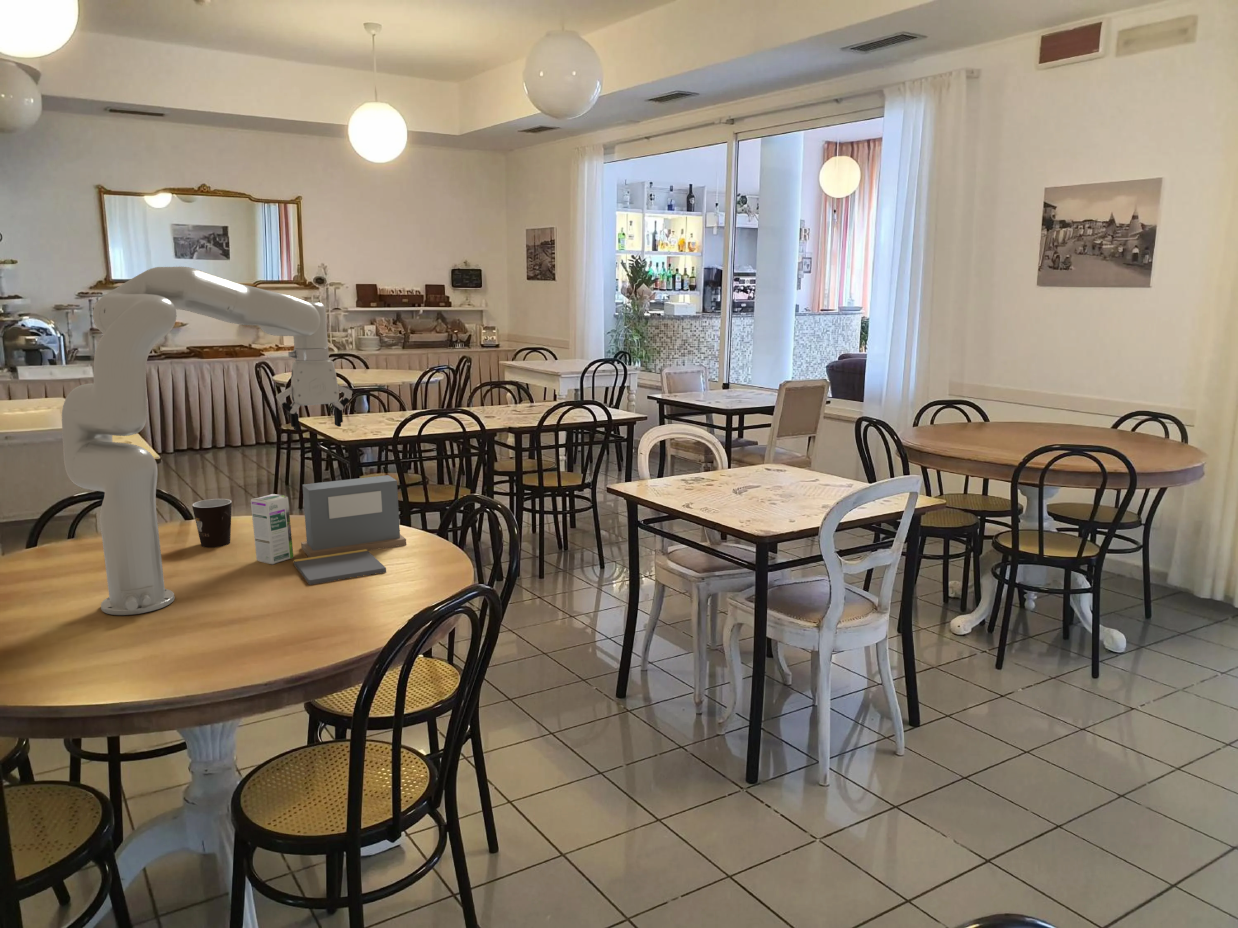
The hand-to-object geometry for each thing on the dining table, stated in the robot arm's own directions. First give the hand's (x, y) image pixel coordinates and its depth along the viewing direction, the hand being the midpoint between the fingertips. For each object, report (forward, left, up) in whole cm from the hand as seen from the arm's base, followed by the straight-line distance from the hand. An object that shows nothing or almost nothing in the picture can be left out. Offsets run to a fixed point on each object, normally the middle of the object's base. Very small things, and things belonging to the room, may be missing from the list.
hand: (317, 427), depth 214 cm
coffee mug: (+7, +24, -28) cm, 37 cm away
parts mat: (-26, +3, -27) cm, 38 cm away
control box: (-11, -4, -27) cm, 30 cm away
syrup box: (-12, +14, -28) cm, 33 cm away
